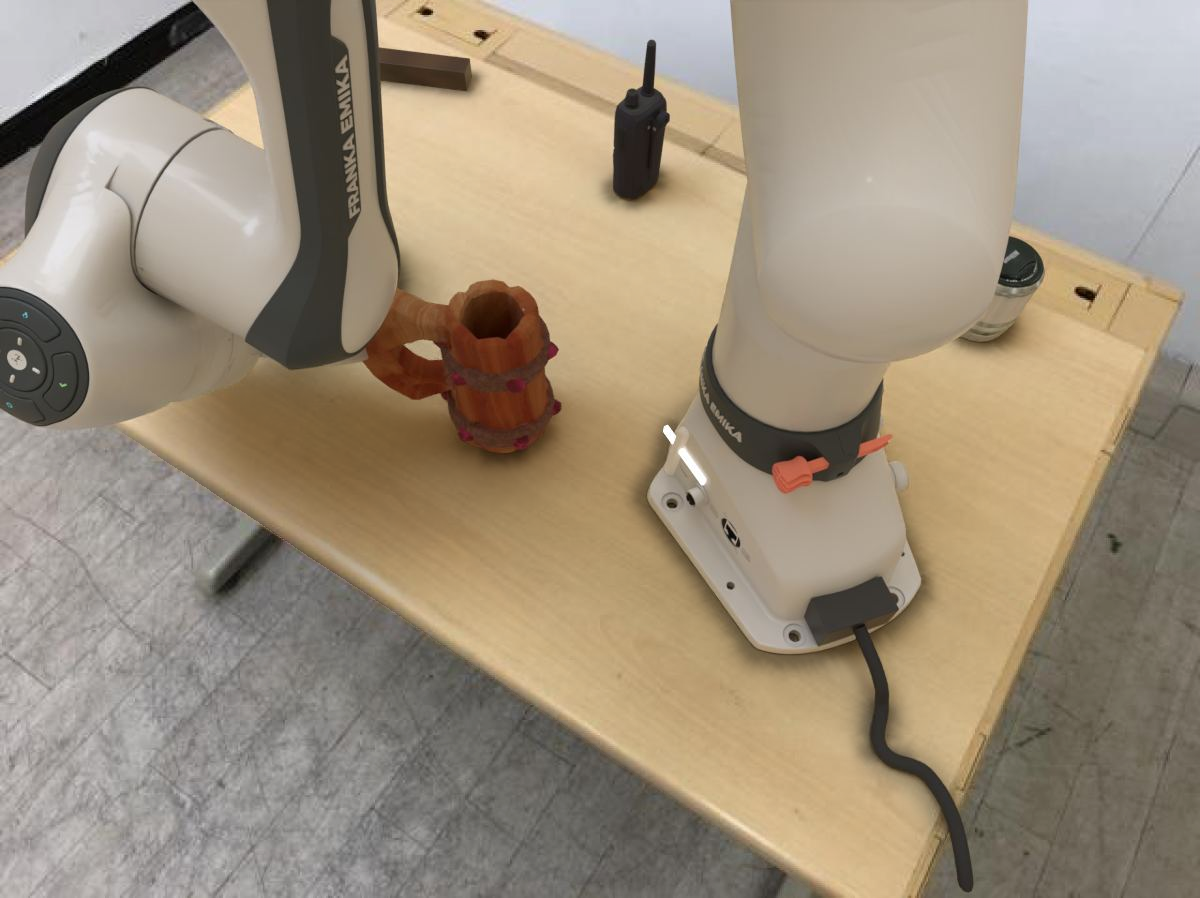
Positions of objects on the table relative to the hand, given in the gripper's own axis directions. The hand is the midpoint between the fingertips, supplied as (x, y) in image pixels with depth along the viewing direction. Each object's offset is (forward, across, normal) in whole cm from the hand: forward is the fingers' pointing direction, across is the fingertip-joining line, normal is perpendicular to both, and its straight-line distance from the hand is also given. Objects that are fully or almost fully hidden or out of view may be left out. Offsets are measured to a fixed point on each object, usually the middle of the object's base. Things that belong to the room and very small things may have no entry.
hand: (278, 310), depth 71 cm
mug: (0, -16, +7) cm, 18 cm away
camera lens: (+12, -58, -6) cm, 60 cm away
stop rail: (+29, 0, -23) cm, 37 cm away
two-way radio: (+20, -27, -14) cm, 36 cm away
